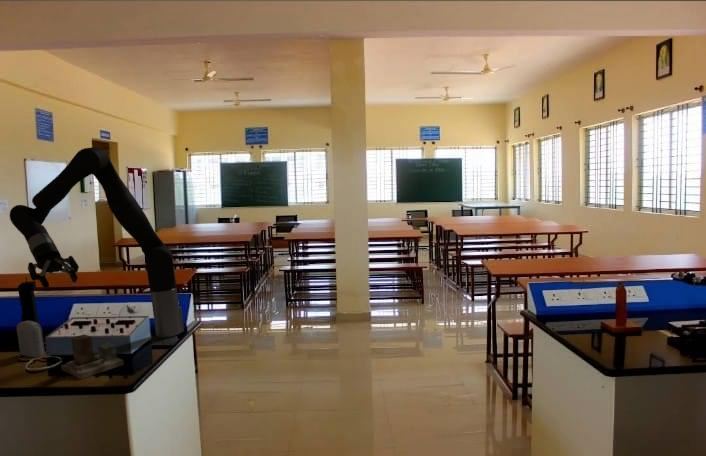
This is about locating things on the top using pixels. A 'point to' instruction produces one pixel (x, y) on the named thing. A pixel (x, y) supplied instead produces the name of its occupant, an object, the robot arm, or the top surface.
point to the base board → (95, 363)
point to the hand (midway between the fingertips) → (61, 283)
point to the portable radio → (28, 301)
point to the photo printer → (30, 339)
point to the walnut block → (82, 350)
